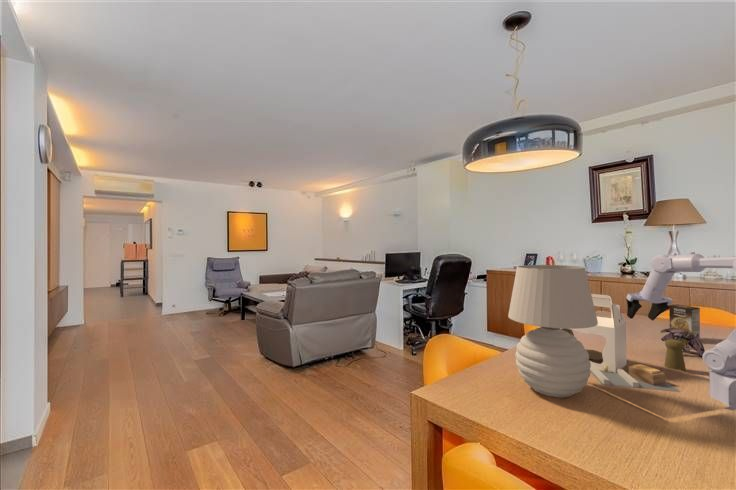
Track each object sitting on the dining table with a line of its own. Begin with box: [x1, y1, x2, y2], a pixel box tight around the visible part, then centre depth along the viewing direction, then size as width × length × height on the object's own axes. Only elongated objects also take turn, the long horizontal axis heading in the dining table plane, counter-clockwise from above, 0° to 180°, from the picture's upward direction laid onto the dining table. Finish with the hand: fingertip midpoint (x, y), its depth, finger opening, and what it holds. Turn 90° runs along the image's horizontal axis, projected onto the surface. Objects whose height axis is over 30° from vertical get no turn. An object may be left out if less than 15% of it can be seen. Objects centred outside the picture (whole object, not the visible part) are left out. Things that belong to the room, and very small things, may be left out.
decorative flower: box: [660, 327, 706, 358], centre depth 138 cm, size 15×12×15 cm
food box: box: [668, 304, 701, 341], centre depth 158 cm, size 9×6×16 cm
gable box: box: [560, 293, 628, 373], centre depth 130 cm, size 22×13×28 cm, turn 39°
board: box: [590, 365, 682, 393], centre depth 112 cm, size 14×21×3 cm, turn 73°
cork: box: [664, 339, 687, 373], centre depth 122 cm, size 6×6×11 cm
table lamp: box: [507, 264, 598, 399], centre depth 107 cm, size 25×25×40 cm
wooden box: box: [628, 363, 666, 386], centre depth 111 cm, size 8×5×4 cm, turn 13°
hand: (640, 317), depth 122 cm, fingers open, 7 cm apart
